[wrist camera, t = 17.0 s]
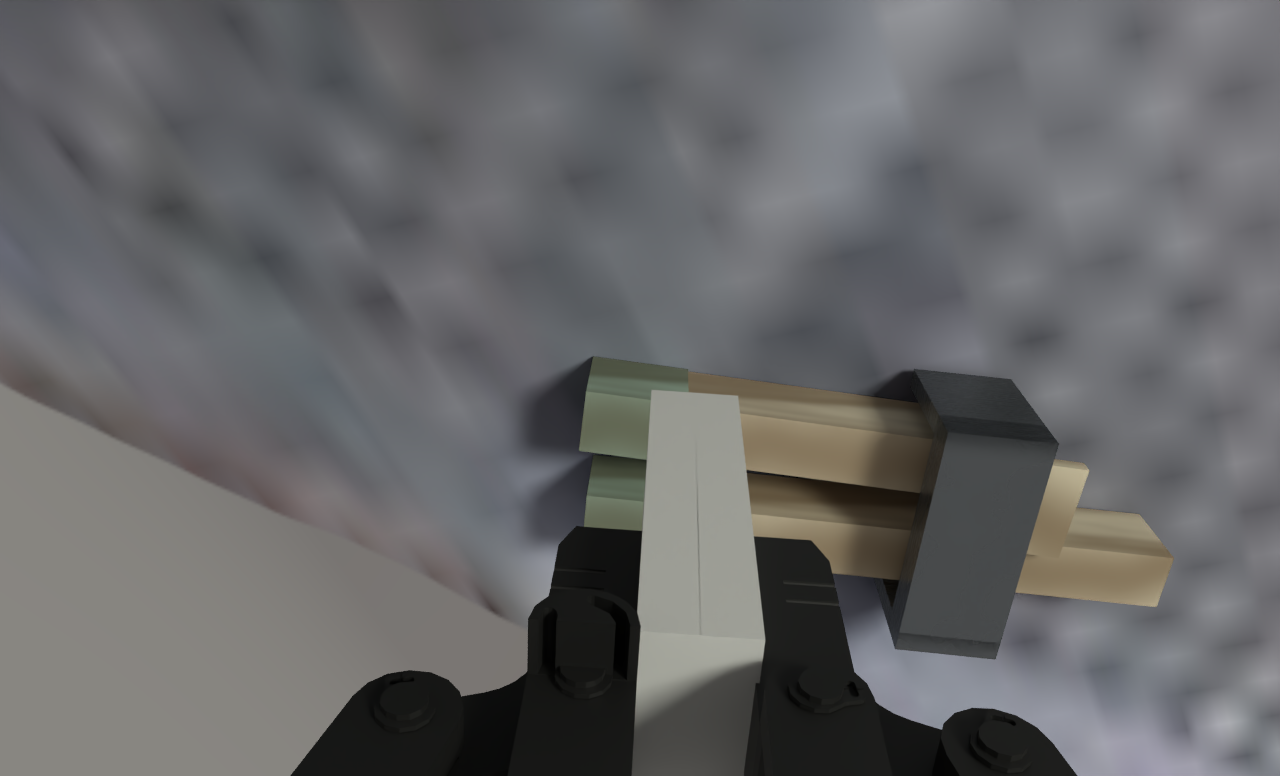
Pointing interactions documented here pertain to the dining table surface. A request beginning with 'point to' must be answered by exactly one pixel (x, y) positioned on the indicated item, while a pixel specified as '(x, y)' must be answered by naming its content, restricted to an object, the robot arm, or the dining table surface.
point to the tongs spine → (906, 532)
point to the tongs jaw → (803, 435)
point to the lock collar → (969, 516)
